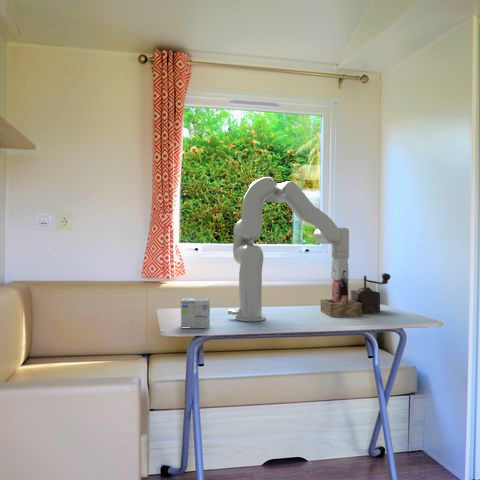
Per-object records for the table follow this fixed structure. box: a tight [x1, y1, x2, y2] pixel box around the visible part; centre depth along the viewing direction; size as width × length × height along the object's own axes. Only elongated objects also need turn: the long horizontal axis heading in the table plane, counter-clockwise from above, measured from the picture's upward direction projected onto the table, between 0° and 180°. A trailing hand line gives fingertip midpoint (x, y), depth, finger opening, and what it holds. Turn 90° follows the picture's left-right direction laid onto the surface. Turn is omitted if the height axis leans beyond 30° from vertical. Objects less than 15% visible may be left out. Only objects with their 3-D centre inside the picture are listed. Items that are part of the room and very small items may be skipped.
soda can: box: [331, 278, 349, 303], centre depth 186 cm, size 7×7×12 cm
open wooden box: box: [320, 298, 363, 318], centre depth 187 cm, size 14×14×6 cm
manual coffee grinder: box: [350, 272, 391, 314], centre depth 192 cm, size 16×11×18 cm
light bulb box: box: [180, 297, 211, 329], centre depth 158 cm, size 11×7×11 cm, turn 93°
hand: (340, 293), depth 187 cm, fingers open, 8 cm apart
